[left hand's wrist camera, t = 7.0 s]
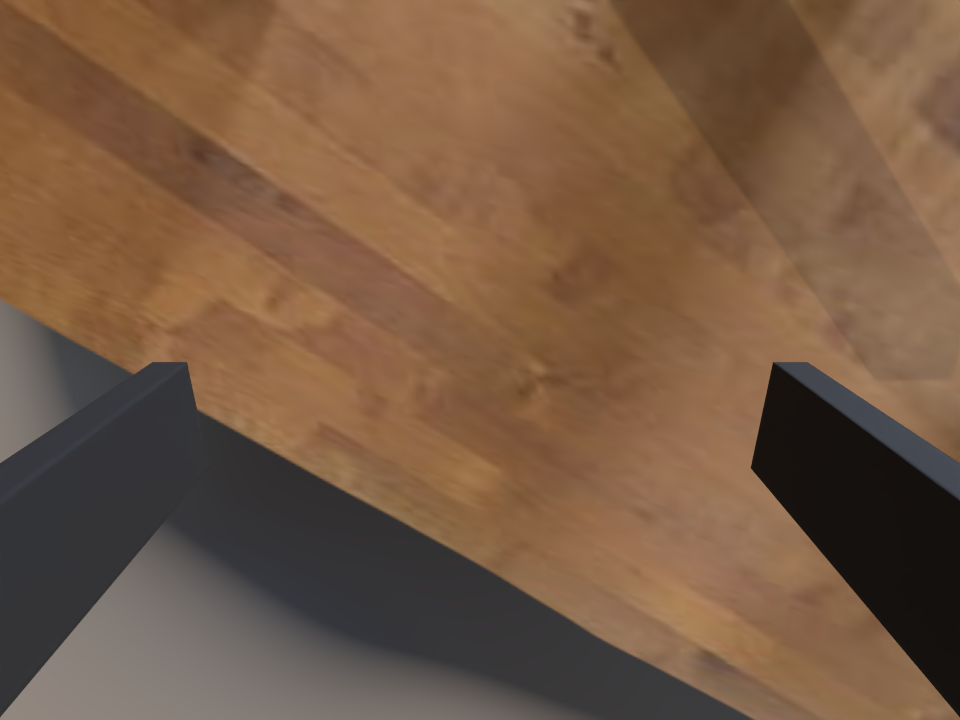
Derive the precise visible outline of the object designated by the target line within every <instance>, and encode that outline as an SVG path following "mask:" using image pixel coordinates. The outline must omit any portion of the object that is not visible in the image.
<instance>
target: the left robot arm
mask: <svg viewBox="0 0 960 720" xmlns="http://www.w3.org/2000/svg"><path fill="white" fill-rule="evenodd" d="M208 469H209V465H208V460H207V455H206V451H205V446H204V441H203V436H202V432H201V427H200V423H199V418H198V413H197V408H196V403H195V398H194V394H193V389H192V384H191V380H190V375H189V370H188V365H187V362H152V363H151V364H149V365H148V366H146V367H145V368H143V369H142V370H140V371H139V372H137V373H136V374H134V375H133V376H131V377H130V378H128V379H127V380H125V381H124V382H122V383H121V384H119V385H118V386H116V387H115V388H113V389H112V390H110V391H109V392H107V393H106V394H104V395H103V396H101V397H100V398H98V399H97V400H95V401H94V402H92V403H91V404H89V405H88V406H86V407H85V408H83V409H81V410H80V411H78V412H77V413H75V414H74V415H73V416H71V417H70V418H68V419H66V420H65V421H64V422H62V423H60V424H59V425H57V426H56V427H54V428H53V429H51V430H50V431H48V432H47V433H45V434H44V435H42V436H41V437H39V438H38V439H36V440H35V441H33V442H32V443H30V444H29V445H27V446H26V447H24V448H23V449H21V450H20V451H18V452H17V453H15V454H14V455H12V456H11V457H9V458H8V459H6V460H5V461H3V462H2V463H0V717H1V716H2V714H3V713H4V712H5V711H6V710H7V708H8V707H9V706H10V705H11V704H12V702H13V701H14V700H15V699H16V698H17V697H18V695H19V694H20V693H21V692H22V691H23V689H24V688H25V687H26V686H27V685H28V683H29V682H30V681H31V680H32V679H33V677H34V676H35V675H36V674H37V673H38V671H39V670H40V669H41V668H42V667H43V666H44V664H45V663H46V662H47V661H48V660H49V658H50V657H51V656H52V655H53V653H54V652H55V651H56V650H57V649H58V648H59V646H60V645H61V644H62V643H63V642H64V640H65V639H66V638H67V637H68V636H69V634H70V633H71V632H72V631H73V630H74V629H75V627H76V626H77V625H78V624H79V623H80V621H81V620H82V619H83V618H84V617H85V615H86V614H87V613H88V612H89V611H90V609H91V608H92V607H93V606H94V605H95V604H96V602H97V601H98V600H99V599H100V598H101V596H102V595H103V594H104V593H105V592H106V590H107V589H108V588H109V587H110V586H111V584H112V583H113V582H114V581H115V580H116V578H117V577H118V576H119V575H120V574H121V573H122V571H123V570H124V569H125V568H126V567H127V565H128V564H129V563H130V562H131V561H132V559H133V558H134V557H135V556H136V555H137V553H138V552H139V551H140V550H141V549H142V547H143V546H144V545H145V544H146V543H147V541H148V540H149V539H150V538H151V537H152V536H153V534H154V533H155V532H156V531H157V530H158V528H159V527H160V526H161V525H162V524H163V522H164V521H165V520H166V519H167V518H168V516H169V515H170V514H171V513H172V512H173V511H174V509H175V508H176V507H177V506H178V505H179V503H180V502H181V501H182V500H183V499H184V497H185V496H186V495H187V494H188V493H189V491H190V490H191V489H192V488H193V487H194V485H195V484H196V483H197V482H198V481H199V480H200V478H201V477H202V476H203V475H204V474H205V472H206V471H207V470H208ZM751 469H752V470H753V471H754V472H755V474H756V475H757V476H758V477H759V478H760V480H761V481H762V482H763V483H764V484H765V486H766V487H767V488H768V489H769V490H770V491H771V493H772V494H773V495H774V496H775V497H776V499H777V500H778V501H779V502H780V503H781V505H782V506H783V507H784V508H785V509H786V511H787V512H788V513H789V514H790V515H791V517H792V518H793V519H794V520H795V521H796V522H797V524H798V525H799V526H800V527H801V528H802V530H803V531H804V532H805V533H806V534H807V536H808V537H809V538H810V539H811V540H812V542H813V543H814V544H815V545H816V546H817V548H818V549H819V550H820V551H821V552H822V553H823V555H824V556H825V557H826V558H827V559H828V561H829V562H830V563H831V564H832V565H833V567H834V568H835V569H836V570H837V571H838V573H839V574H840V575H841V576H842V577H843V578H844V580H845V581H846V582H847V583H848V584H849V586H850V587H851V588H852V589H853V590H854V592H855V593H856V594H857V595H858V596H859V598H860V599H861V600H862V601H863V602H864V604H865V605H866V606H867V607H868V608H869V609H870V611H871V612H872V613H873V614H874V615H875V617H876V618H877V619H878V620H879V621H880V623H881V624H882V625H883V626H884V627H885V629H886V630H887V631H888V632H889V633H890V635H891V636H892V637H893V638H894V639H895V640H896V642H897V643H898V644H899V645H900V646H901V648H902V649H903V650H904V651H905V652H906V654H907V655H908V656H909V657H910V658H911V660H912V661H913V662H914V663H915V664H916V666H917V667H918V668H919V669H920V670H921V671H922V673H923V674H924V675H925V676H926V677H927V679H928V680H929V681H930V682H931V683H932V685H933V686H934V687H935V688H936V689H937V691H938V692H939V693H940V694H941V695H942V697H943V698H944V699H945V700H946V701H947V702H948V704H949V705H950V706H951V707H952V708H953V710H954V711H955V712H956V713H957V714H958V716H959V717H960V463H958V462H957V461H955V460H954V459H952V458H951V457H949V456H948V455H946V454H945V453H943V452H942V451H940V450H939V449H937V448H936V447H934V446H933V445H931V444H930V443H928V442H927V441H925V440H924V439H922V438H921V437H919V436H918V435H916V434H915V433H913V432H912V431H910V430H909V429H907V428H906V427H904V426H903V425H901V424H900V423H898V422H897V421H895V420H894V419H892V418H891V417H889V416H888V415H886V414H885V413H883V412H882V411H880V410H879V409H877V408H875V407H874V406H872V405H871V404H869V403H868V402H866V401H865V400H863V399H862V398H860V397H859V396H857V395H856V394H854V393H853V392H851V391H850V390H848V389H847V388H845V387H844V386H842V385H841V384H839V383H838V382H836V381H835V380H833V379H832V378H830V377H829V376H827V375H826V374H824V373H823V372H821V371H820V370H818V369H817V368H815V367H814V366H812V365H811V364H809V363H808V362H773V365H772V370H771V375H770V380H769V384H768V389H767V394H766V398H765V403H764V408H763V413H762V417H761V422H760V427H759V432H758V436H757V441H756V446H755V451H754V455H753V460H752V465H751Z"/></svg>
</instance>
